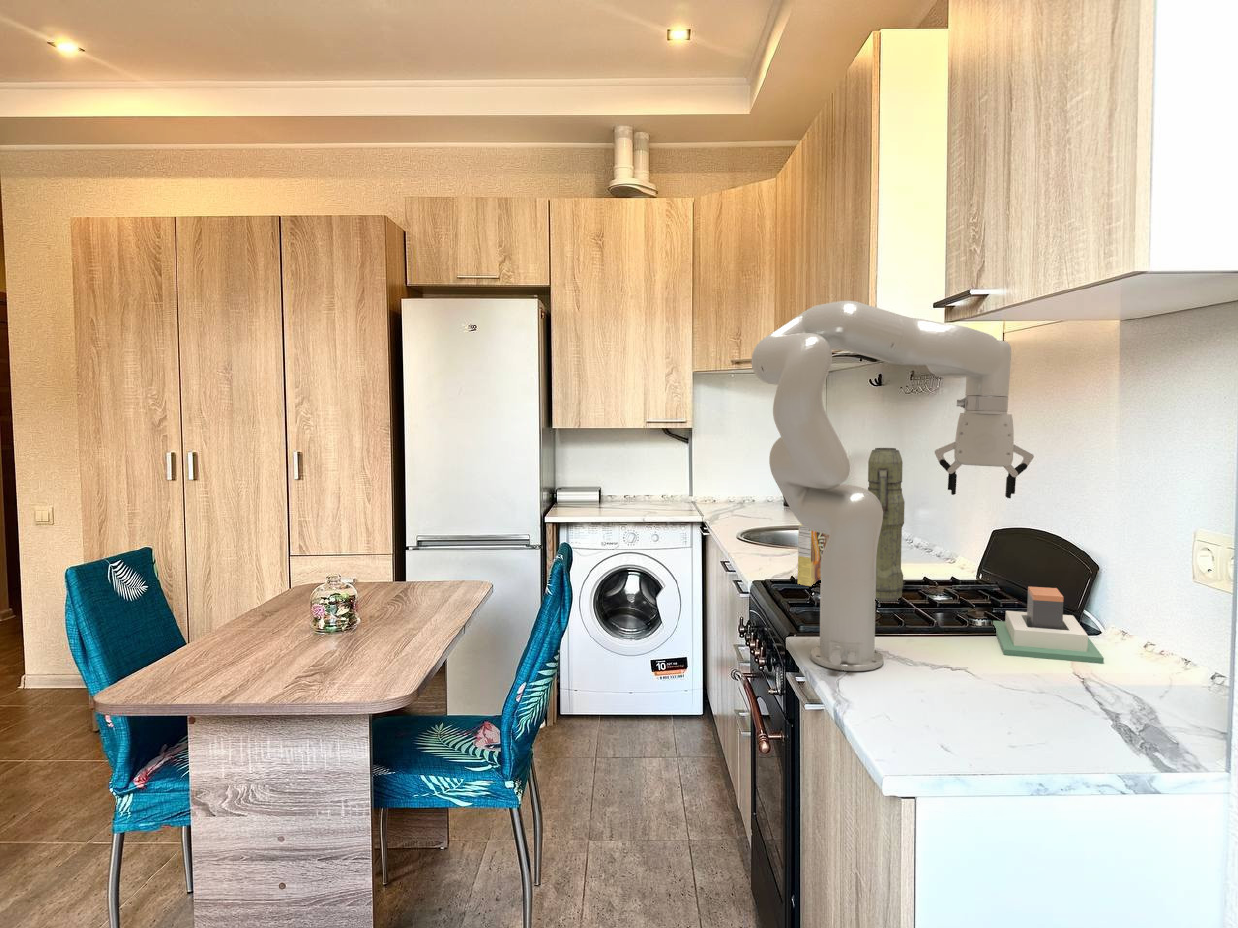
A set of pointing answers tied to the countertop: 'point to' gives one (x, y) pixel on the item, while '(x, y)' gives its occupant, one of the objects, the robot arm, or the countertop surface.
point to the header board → (1043, 651)
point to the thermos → (888, 520)
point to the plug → (1044, 608)
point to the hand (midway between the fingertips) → (980, 495)
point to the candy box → (810, 555)
